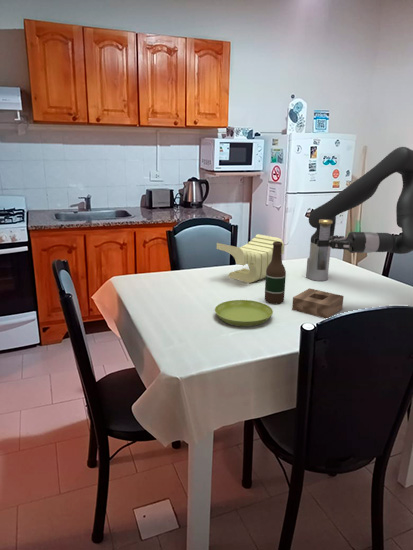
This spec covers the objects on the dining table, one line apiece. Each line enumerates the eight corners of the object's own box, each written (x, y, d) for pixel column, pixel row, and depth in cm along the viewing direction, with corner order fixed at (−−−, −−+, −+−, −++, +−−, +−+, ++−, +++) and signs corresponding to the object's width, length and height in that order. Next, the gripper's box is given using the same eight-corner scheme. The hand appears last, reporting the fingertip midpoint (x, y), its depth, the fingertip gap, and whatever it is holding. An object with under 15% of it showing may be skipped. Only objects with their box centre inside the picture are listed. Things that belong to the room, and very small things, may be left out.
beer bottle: (285, 299, 168) (289, 241, 161) (282, 305, 161) (286, 244, 154) (266, 296, 170) (269, 239, 163) (262, 303, 163) (265, 243, 156)
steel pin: (312, 269, 153) (317, 220, 148) (318, 266, 156) (322, 218, 151) (324, 271, 150) (329, 221, 145) (329, 268, 154) (334, 220, 148)
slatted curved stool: (242, 288, 181) (244, 248, 175) (216, 280, 191) (216, 242, 186) (282, 274, 201) (284, 238, 196) (255, 268, 212) (257, 234, 207)
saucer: (230, 304, 163) (231, 296, 162) (280, 314, 153) (281, 306, 152) (204, 321, 145) (204, 313, 145) (258, 334, 136) (258, 325, 135)
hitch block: (292, 309, 157) (293, 297, 155) (308, 300, 167) (309, 288, 166) (327, 319, 148) (328, 305, 147) (342, 308, 159) (343, 295, 157)
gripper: (356, 228, 156) (311, 228, 156) (372, 236, 143) (322, 235, 142) (354, 248, 159) (309, 248, 158) (369, 257, 145) (320, 257, 145)
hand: (316, 242), depth 150 cm, fingers closed on steel pin, 3 cm apart
